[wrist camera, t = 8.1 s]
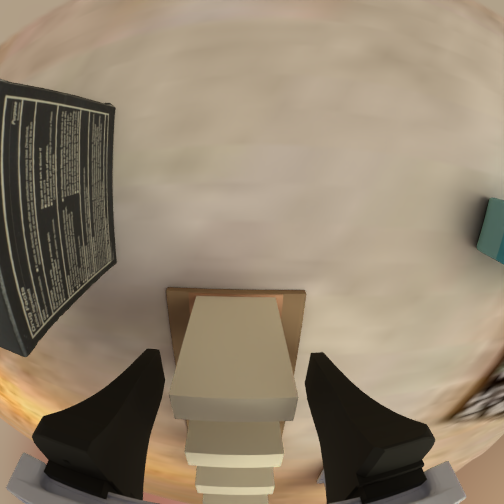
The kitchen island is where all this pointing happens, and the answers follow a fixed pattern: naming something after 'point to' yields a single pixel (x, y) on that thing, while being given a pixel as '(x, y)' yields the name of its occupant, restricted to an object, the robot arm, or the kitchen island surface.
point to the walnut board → (287, 300)
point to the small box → (51, 207)
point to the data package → (493, 231)
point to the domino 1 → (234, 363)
